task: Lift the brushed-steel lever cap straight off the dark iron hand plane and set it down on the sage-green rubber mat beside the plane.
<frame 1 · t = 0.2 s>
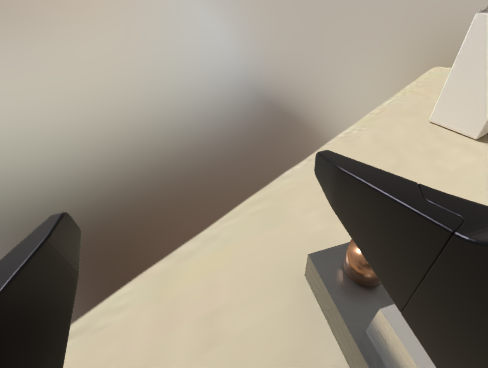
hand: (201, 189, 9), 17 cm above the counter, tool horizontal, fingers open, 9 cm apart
milk carton: (462, 124, 41), on the counter
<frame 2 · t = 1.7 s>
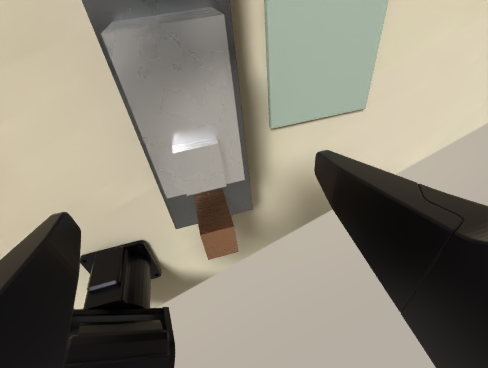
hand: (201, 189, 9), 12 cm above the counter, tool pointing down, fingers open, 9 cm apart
lever cap: (184, 99, 16), point 3 cm above the counter, touching hand plane
hand plane: (181, 82, 19), on the counter
mat: (322, 56, 20), on the counter
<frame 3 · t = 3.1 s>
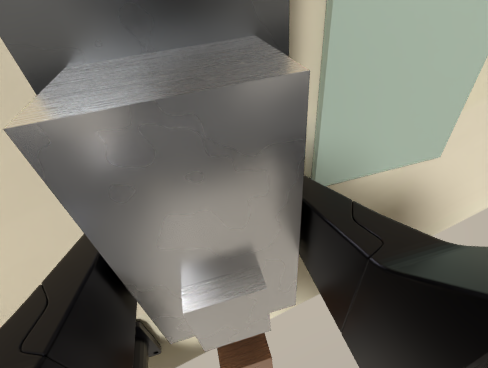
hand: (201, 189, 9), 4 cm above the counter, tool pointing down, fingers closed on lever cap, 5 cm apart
lever cap: (199, 180, 10), point 3 cm above the counter, touching gripper, hand plane
hand plane: (191, 136, 12), on the counter
mat: (395, 93, 14), on the counter
when the fingers open (2 cm above the counter, at t = 7.2 s): lever cap drops 1 cm, resting on mat.
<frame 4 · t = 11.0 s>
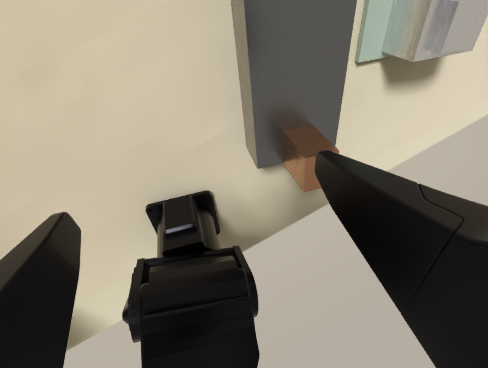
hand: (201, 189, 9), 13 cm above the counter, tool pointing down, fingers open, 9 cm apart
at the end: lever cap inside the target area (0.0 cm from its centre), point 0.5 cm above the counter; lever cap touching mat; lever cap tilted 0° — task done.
